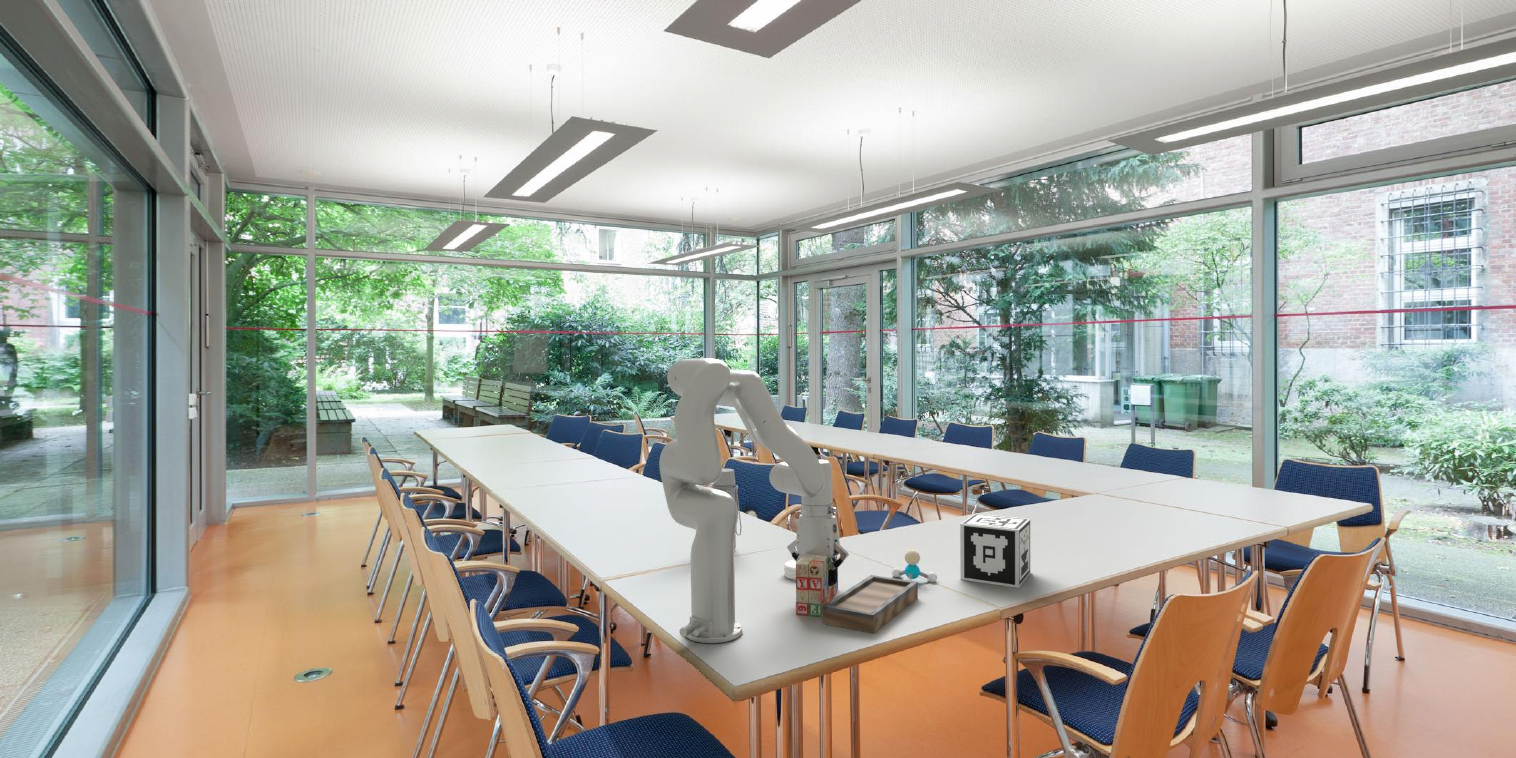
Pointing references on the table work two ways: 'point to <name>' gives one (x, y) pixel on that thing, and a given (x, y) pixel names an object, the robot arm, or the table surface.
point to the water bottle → (728, 489)
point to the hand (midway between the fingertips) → (817, 581)
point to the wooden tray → (870, 603)
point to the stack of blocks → (813, 585)
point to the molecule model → (913, 568)
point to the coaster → (790, 569)
